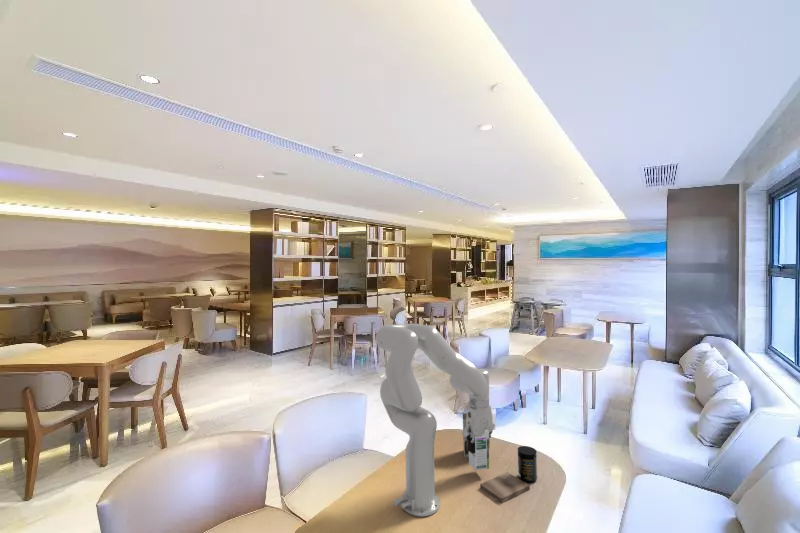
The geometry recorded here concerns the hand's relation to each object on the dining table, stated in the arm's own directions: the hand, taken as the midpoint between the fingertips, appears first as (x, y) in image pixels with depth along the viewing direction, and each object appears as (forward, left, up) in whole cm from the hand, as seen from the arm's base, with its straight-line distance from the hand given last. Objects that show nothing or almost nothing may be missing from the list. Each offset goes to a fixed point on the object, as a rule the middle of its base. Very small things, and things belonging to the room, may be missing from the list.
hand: (478, 449), depth 138 cm
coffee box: (+9, +12, -9) cm, 18 cm away
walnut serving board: (+1, -12, -9) cm, 15 cm away
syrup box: (0, 0, -6) cm, 6 cm away
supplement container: (+13, -12, -9) cm, 20 cm away
